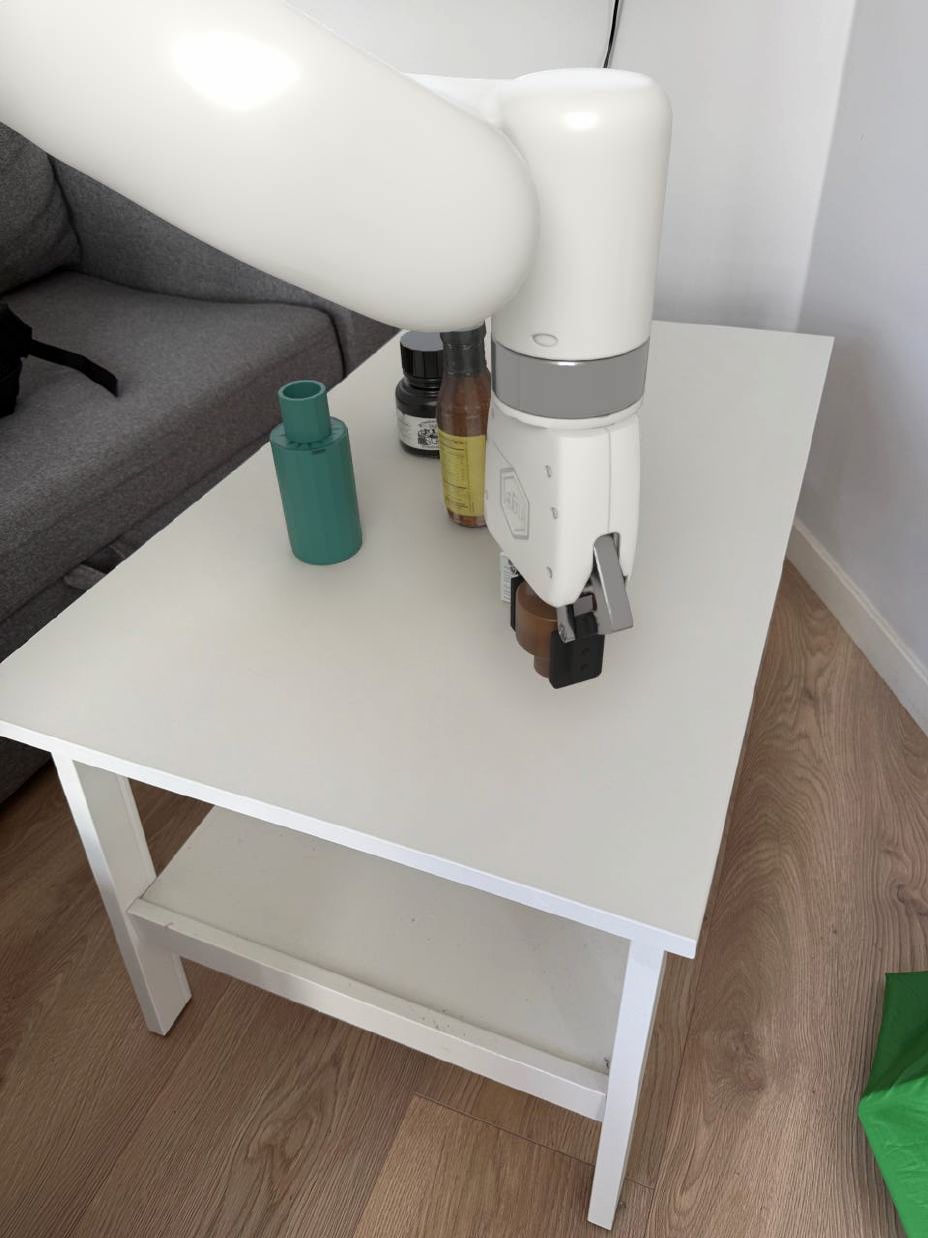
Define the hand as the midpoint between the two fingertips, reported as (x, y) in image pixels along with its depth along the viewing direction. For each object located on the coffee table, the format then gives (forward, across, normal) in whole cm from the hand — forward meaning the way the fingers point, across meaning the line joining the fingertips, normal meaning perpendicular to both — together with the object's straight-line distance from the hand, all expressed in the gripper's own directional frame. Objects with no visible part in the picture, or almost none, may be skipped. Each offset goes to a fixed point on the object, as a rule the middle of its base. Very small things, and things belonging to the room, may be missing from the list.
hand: (554, 649), depth 56 cm
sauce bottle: (+13, -35, +9) cm, 38 cm away
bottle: (+13, -36, -6) cm, 39 cm away
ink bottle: (+13, -51, +11) cm, 54 cm away
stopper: (+1, 0, 0) cm, 1 cm away
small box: (+13, -20, +11) cm, 26 cm away
